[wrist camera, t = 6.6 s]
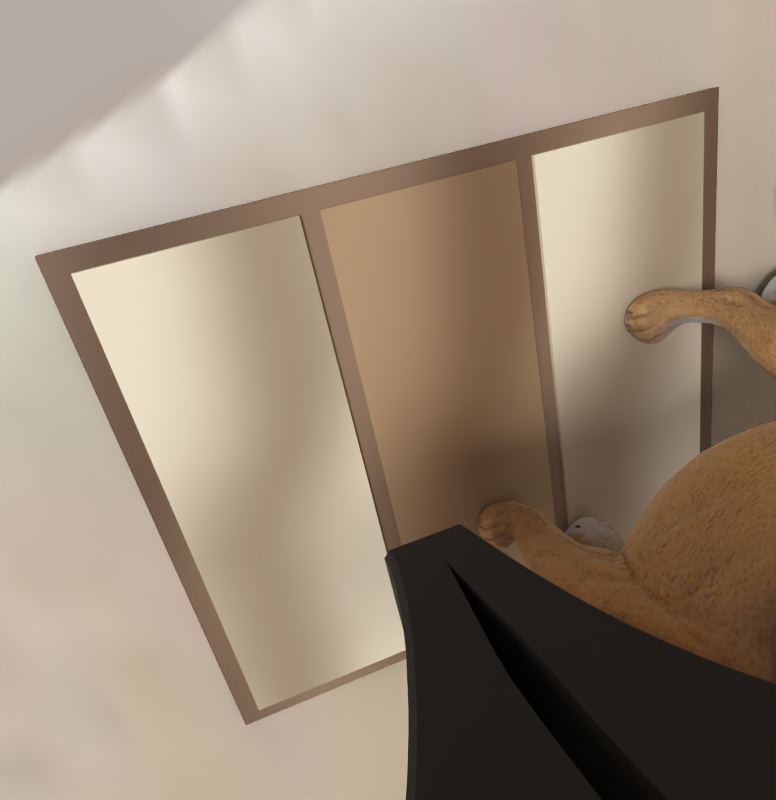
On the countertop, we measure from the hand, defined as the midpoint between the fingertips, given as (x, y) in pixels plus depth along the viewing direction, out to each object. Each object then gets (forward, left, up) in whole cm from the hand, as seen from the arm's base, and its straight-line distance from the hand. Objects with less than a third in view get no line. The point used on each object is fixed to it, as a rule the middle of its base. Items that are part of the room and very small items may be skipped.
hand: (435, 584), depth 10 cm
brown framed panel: (-2, 0, -5) cm, 5 cm away
